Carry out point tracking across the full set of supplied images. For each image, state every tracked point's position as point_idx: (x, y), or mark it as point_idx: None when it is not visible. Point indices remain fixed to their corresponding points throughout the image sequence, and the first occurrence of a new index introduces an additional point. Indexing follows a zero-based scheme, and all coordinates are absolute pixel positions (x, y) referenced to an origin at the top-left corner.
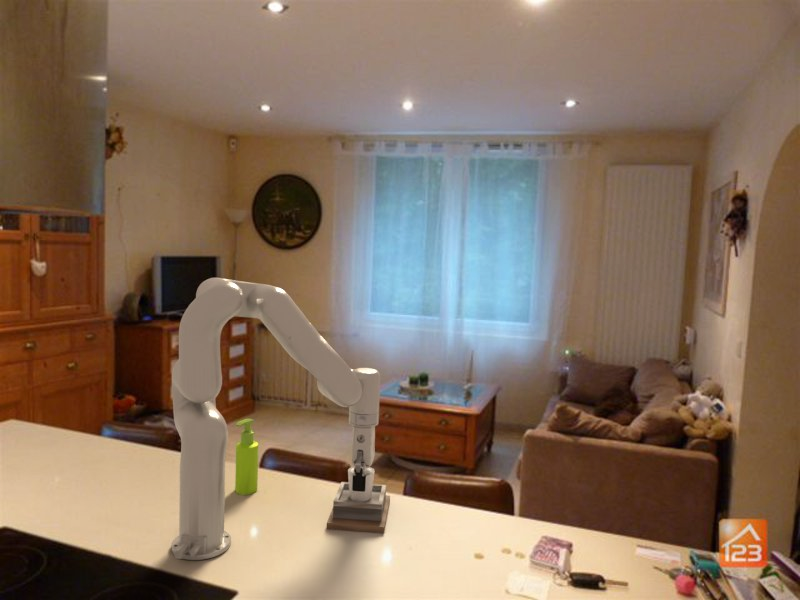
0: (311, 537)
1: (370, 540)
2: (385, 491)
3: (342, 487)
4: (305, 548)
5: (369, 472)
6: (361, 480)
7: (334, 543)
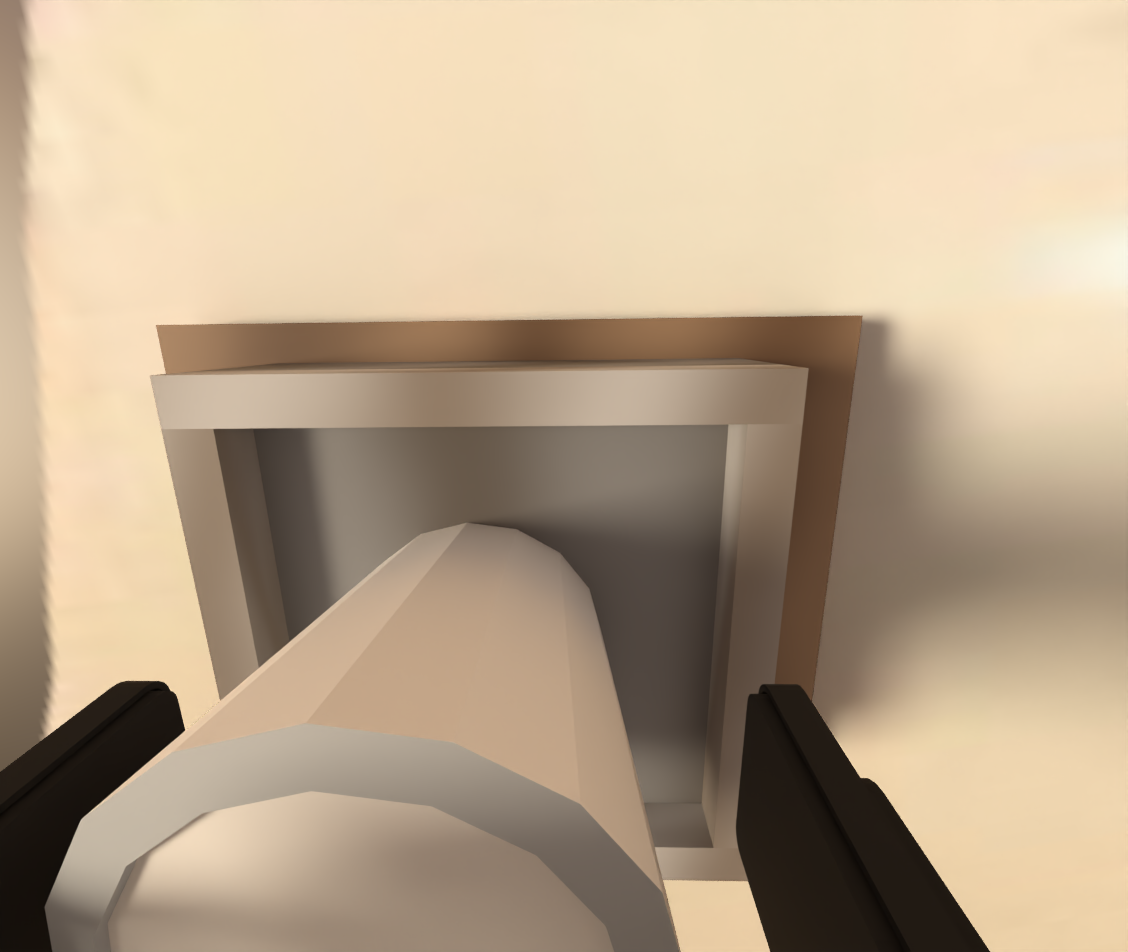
0: (902, 801)
1: (955, 418)
2: (268, 370)
3: None
4: (1045, 808)
5: (426, 831)
6: (974, 946)
7: (990, 660)
